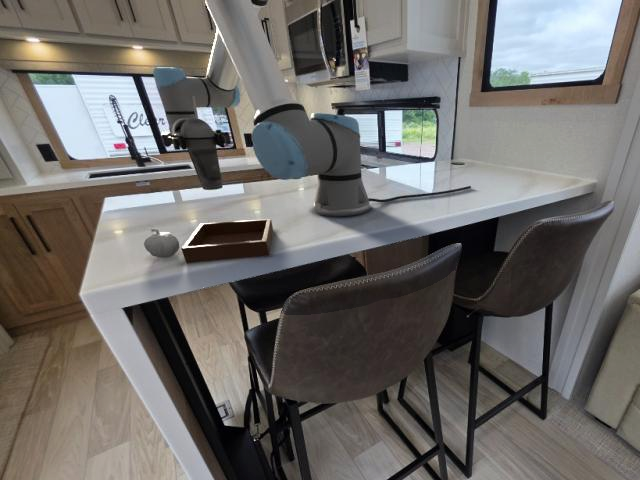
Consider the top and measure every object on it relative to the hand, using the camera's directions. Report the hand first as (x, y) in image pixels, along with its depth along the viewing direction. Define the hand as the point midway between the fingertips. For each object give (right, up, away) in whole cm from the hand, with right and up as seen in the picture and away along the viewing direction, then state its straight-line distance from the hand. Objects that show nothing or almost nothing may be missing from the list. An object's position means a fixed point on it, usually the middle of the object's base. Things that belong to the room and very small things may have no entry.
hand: (202, 142), depth 74 cm
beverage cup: (-3, -8, +9) cm, 12 cm away
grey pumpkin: (-1, -27, -10) cm, 29 cm away
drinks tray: (+10, -25, -6) cm, 27 cm away
